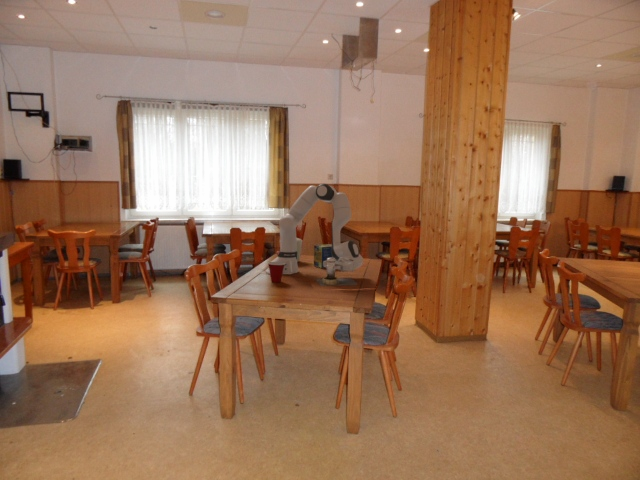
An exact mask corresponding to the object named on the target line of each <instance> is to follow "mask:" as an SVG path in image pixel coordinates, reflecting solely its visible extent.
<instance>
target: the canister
mask: <svg viewBox="0 0 640 480" xmlns="http://www.w3.org/2000/svg"><path fill="white" fill-rule="evenodd" d="M278 242H279V245H280V246H279V248H280V249H281V239H279V241H278ZM303 243H304V240H303V239H301V238H298V237H297V253H298V258H297V263H299V261H300V260H301V254H302V248H303V247H302V245H303Z"/></svg>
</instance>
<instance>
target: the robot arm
mask: <svg viewBox="0 0 640 480" xmlns="http://www.w3.org/2000/svg"><path fill="white" fill-rule="evenodd" d="M318 201H322V202H323V203H327V204H332V207H333V219H332V222H331V226H330V227H331V229H330V230H331V244H332V247H331V254H332V256H333V257H334V258H335V259H337V260H338V261H335V266H333V269H335V271H336V270H339V271H340V272H355V271H356V269H358V268H360V267H361V266H362V265H363V263H364V258H363V256H362V255H361V254H360V250H359V246H358V244H357V243H356V242H355V241H354V240H348V241H344V242H342V243H341V230H342V229H343V227H344V226H345V225H346V224H347V223H349V221H350V220H351V218H352V207H351V203H350V200H349V198H348V195H347V194H346V193H345V192H338V190H337V189H336V188H335V187H333V186H332V185H329V184H328V183H320V184H319V185H317V186H316V185H309V186H308V187H307V188H306V189H305V190H304V191H303V192H302V193H301V194H300V195H299V196H298V198H297V199H296V200H295V201H294V202H293V204H291V205H292V206H291V207H290V209H288V211H287V212H286V214H284V215H283V216H281V218H280V219H279V220H278V221H279V222H278V227H279V228H278V229H279V237H280V239H279V240H281V248H280V250H277V251H276V255H277V257H275V258H274V259H273V260H271V261H270V262H281V263H285V265H284V268H283V274H282V275H293V274H297V273H299V272H300V271H299V266H298V262H297V258H298V253H297V238H298V237H297V227H298V226H299V224H301V222H302V220H304V218H305V217H306V216H307V214H308V213H309V212H310V211H311V209H312V208H313V207H314V205H315V204H317V202H318ZM323 267H325V268H324V269H327V261H323ZM265 274H267V275H268V274H269V275H270V270H269V268H267V269H265Z"/></svg>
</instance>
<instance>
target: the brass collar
mask: <svg viewBox="0 0 640 480" xmlns="http://www.w3.org/2000/svg"><path fill="white" fill-rule="evenodd" d="M321 278H322V283H323V284H325V285H335V286H337V285H336V284H338V279H339V278H338V277H337V276H335V278H334V279H328V278H327V276H323V277H321Z"/></svg>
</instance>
